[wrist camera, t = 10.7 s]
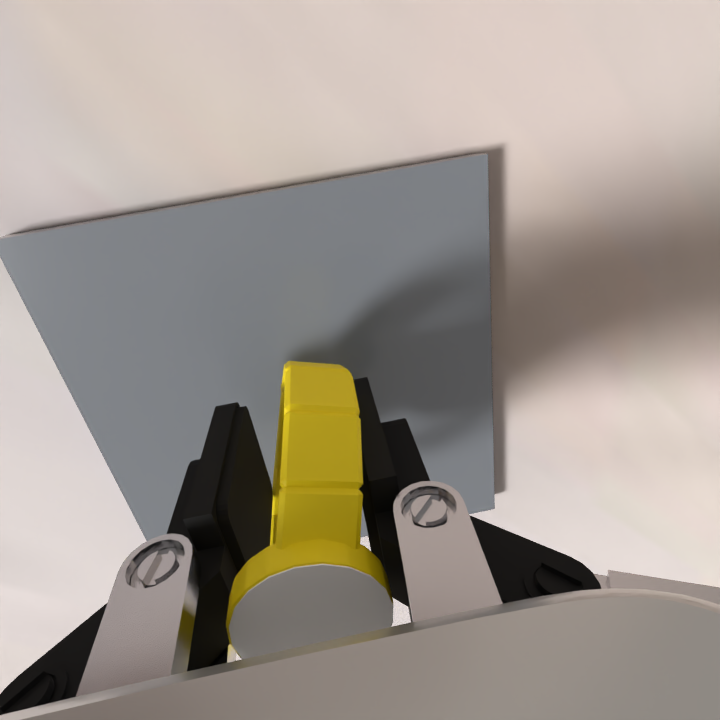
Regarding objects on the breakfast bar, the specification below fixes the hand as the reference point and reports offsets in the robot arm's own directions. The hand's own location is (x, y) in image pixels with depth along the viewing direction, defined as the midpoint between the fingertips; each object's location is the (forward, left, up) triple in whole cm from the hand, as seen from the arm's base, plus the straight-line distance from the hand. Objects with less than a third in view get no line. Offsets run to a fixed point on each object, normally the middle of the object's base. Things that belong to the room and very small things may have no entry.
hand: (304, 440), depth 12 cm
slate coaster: (0, 0, -2) cm, 2 cm away
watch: (0, 0, -1) cm, 1 cm away
